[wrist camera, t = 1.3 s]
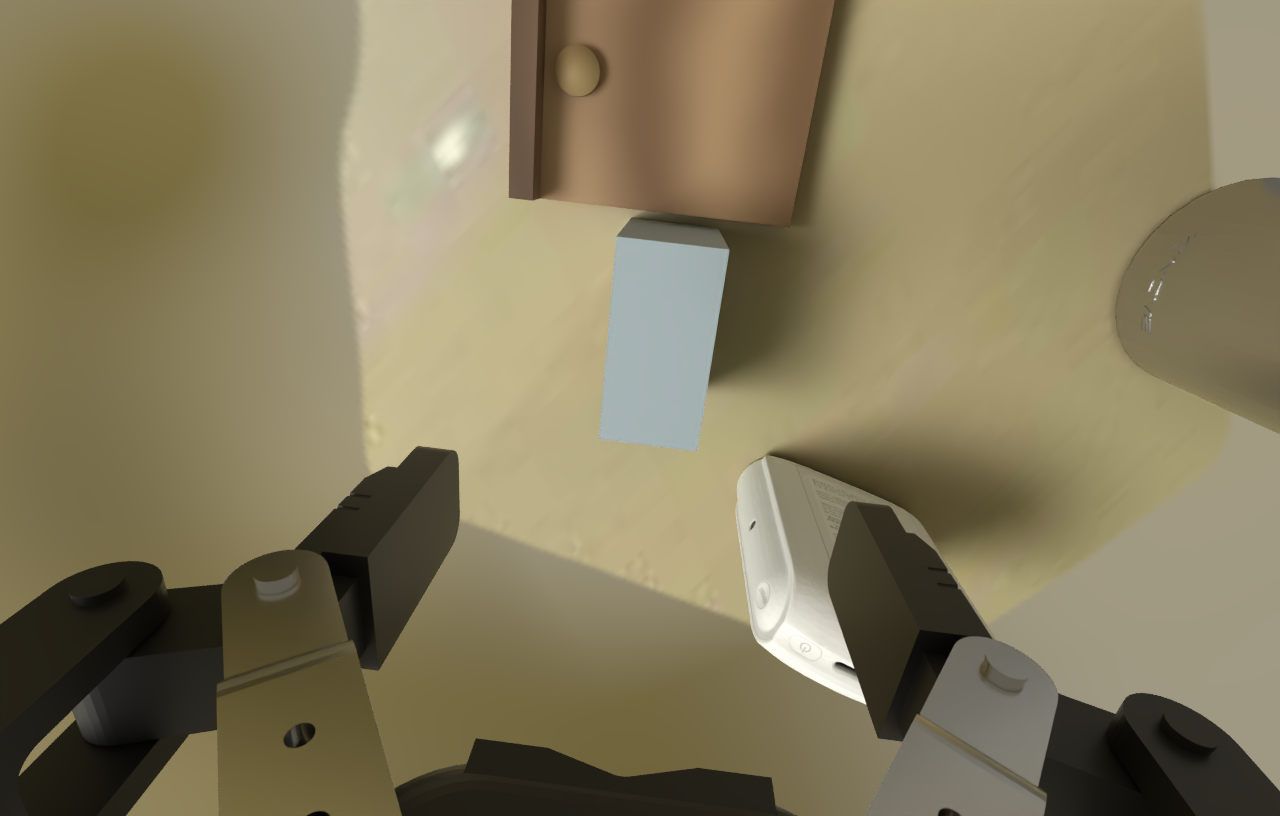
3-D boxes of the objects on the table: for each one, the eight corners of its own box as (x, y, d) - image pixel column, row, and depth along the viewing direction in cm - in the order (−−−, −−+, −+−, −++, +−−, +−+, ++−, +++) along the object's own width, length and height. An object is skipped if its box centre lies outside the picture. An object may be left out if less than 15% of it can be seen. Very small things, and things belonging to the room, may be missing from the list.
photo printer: (720, 504, 33) (742, 688, 21) (755, 440, 31) (800, 603, 20) (883, 568, 34) (987, 776, 22) (926, 510, 32) (1061, 703, 21)
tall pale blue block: (717, 227, 27) (729, 249, 21) (693, 388, 30) (697, 451, 24) (631, 217, 27) (616, 236, 21) (616, 379, 30) (599, 439, 24)
